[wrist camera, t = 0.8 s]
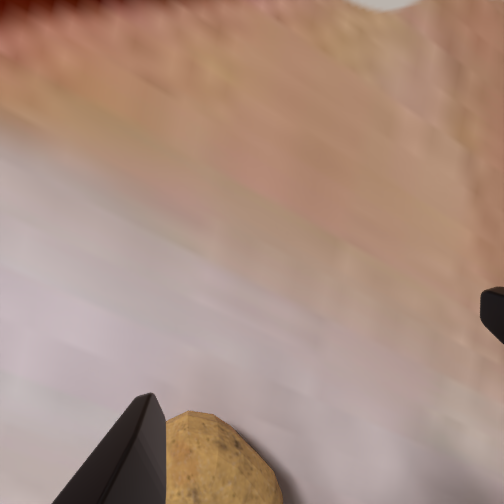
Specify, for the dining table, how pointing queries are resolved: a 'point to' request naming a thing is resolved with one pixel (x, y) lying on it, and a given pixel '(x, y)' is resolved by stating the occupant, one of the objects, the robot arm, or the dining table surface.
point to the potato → (214, 464)
